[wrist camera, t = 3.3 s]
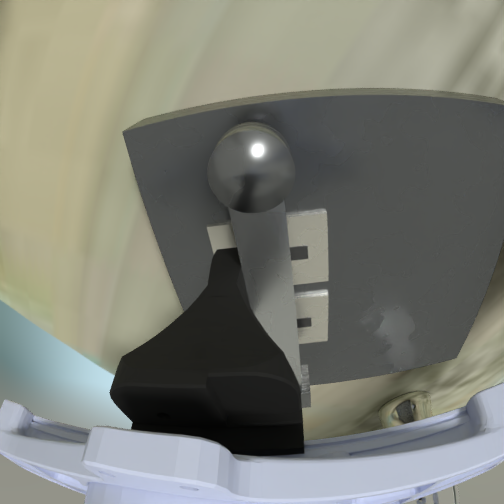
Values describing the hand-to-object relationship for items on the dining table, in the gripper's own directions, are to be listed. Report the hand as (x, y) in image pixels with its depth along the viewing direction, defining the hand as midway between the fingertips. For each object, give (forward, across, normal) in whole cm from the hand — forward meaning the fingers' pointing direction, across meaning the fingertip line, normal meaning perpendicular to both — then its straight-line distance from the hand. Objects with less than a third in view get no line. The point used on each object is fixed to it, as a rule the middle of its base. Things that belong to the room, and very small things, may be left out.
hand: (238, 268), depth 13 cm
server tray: (+4, -5, +3) cm, 7 cm away
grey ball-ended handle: (0, -1, +1) cm, 2 cm away
